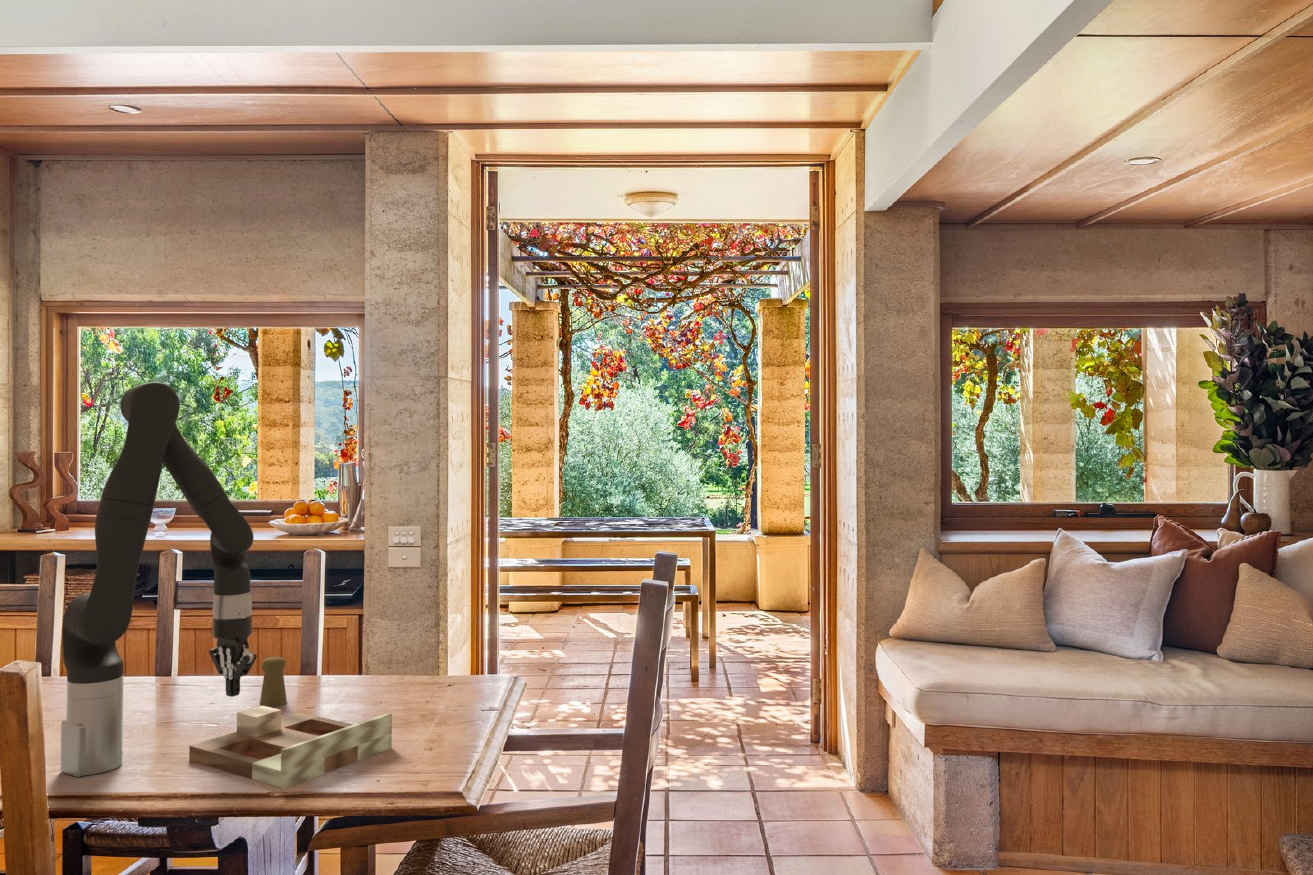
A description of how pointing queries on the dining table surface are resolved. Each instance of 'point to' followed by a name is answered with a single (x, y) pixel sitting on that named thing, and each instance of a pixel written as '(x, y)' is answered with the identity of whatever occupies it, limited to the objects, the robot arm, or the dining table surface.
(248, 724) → the block
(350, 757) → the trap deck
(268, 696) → the cork
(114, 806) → the dining table surface
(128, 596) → the robot arm
